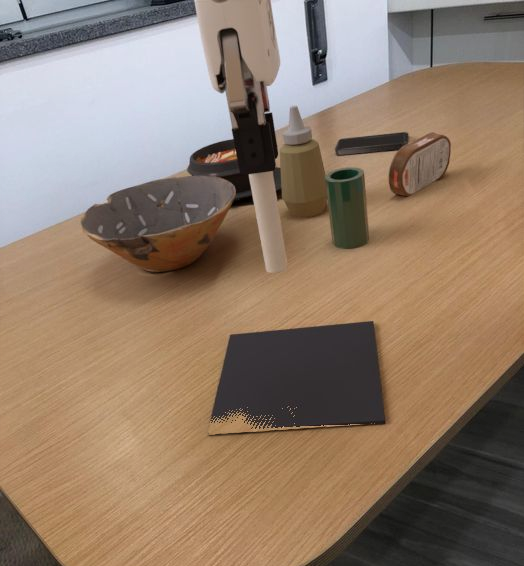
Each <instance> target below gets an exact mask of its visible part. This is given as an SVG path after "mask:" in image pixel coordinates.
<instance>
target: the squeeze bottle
mask: <svg viewBox="0 0 524 566" xmlns="http://www.w3.org/2000/svg"><path fill="white" fill-rule="evenodd" d="M288 116H289V118H288V128H287V129H285V130H283V132H282V138H283V143H284V144H282V146H281V147H280V148H279V166H280V168H281V186H282V188H281V198H282V200H283V201H284V204H285V206H286V208H287V210H288V212H289V213H290V215H291V216H292V217H293V218H298V219H305V218H306V219H307V218H308V219H309V218H314V217H316V216H319V215H321V214H323V213H324V212H325V210H326V206H327V203H328V201H327V192H326V183H325V175H326V174H327V173H326V171H325V166H324V161H323V157H322V156H323V155H322V152H321V148H320V143H319V142H318V140H316V139H313V133H312V128H311V127H310V126H308V125H305V124H304V122H303V119H302V116H301V113H300V110H299V108H298V105H291V106H290V107H289V115H288Z"/></svg>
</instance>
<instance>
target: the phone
mask: <svg viewBox="0 0 524 566" xmlns="http://www.w3.org/2000/svg"><path fill="white" fill-rule="evenodd" d="M409 139H410V137H409V132H408V131H403V132H401V131H400V132H392V133H383V134H373V135H363V136H353V137H344V138H340V139H338V141H337V143H336V145H335V148H334V154H335V155H336V156H343V155H344V156H345V155H354V154H364V153H365V154H367V153H376V152H386V151H398V150H399V149H400V148H401V147H403V146H405V145H407V144H409Z"/></svg>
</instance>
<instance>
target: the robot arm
mask: <svg viewBox="0 0 524 566" xmlns="http://www.w3.org/2000/svg"><path fill="white" fill-rule="evenodd" d="M193 1H194V7H195V13H196V18H197V23H198V28H199V34H200V40H201V43H202V48H203V54H204V58H205V63H206V68H207V72H208V76H209V80H210V83H211V85H212V86H211V87H212V89H213V90H214V91H216V92H218V93H220V94H224V93H225V97H226V103H227V108H228V113H229V119H230V124H231V133H232V139H234V145H235V150H236V155H237V160H238V166H239V171H240V173H241V174H242V175H248V174H255V173H263V172H270V171H274V170H275V167H277V163H276V159H278V157H279V149H278V141H277V135H276V127H275V122H274V121H275V120H274V116H273V115H274V114H273V112H272V111H270V110H271V106H270V98H269V94H268V87H270V86H271V85H273V83H274V82H276V81H275V80H276V79H277V76H278V73H279V71H280V67H281V57H280V56H281V55H280V50H279V44H278V39H277V33H276V26H275V20H274V13H273V7H272V1H271V0H193ZM253 98H254V100H253ZM265 120H266V121H265Z"/></svg>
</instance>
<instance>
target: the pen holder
mask: <svg viewBox="0 0 524 566" xmlns="http://www.w3.org/2000/svg"><path fill="white" fill-rule="evenodd" d="M325 174H326V175H325V183H326V192H327V208H328V217H329V218H328V219H329V227H330V234H331V242H332V246H334V247H335V248H338V249H340V250H341V249H342V250H353V249H357V248H361V247H363V246H364V245H366V244H368V243H369V241H370V230H369V215H368V205H367V204H368V203H367V194H366V193H367V191H366V180H365V179H366V176H365V170H363V169H362V168H359V167H340V168H337V169H334V170H331V171H329V172H328V173H325Z"/></svg>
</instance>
